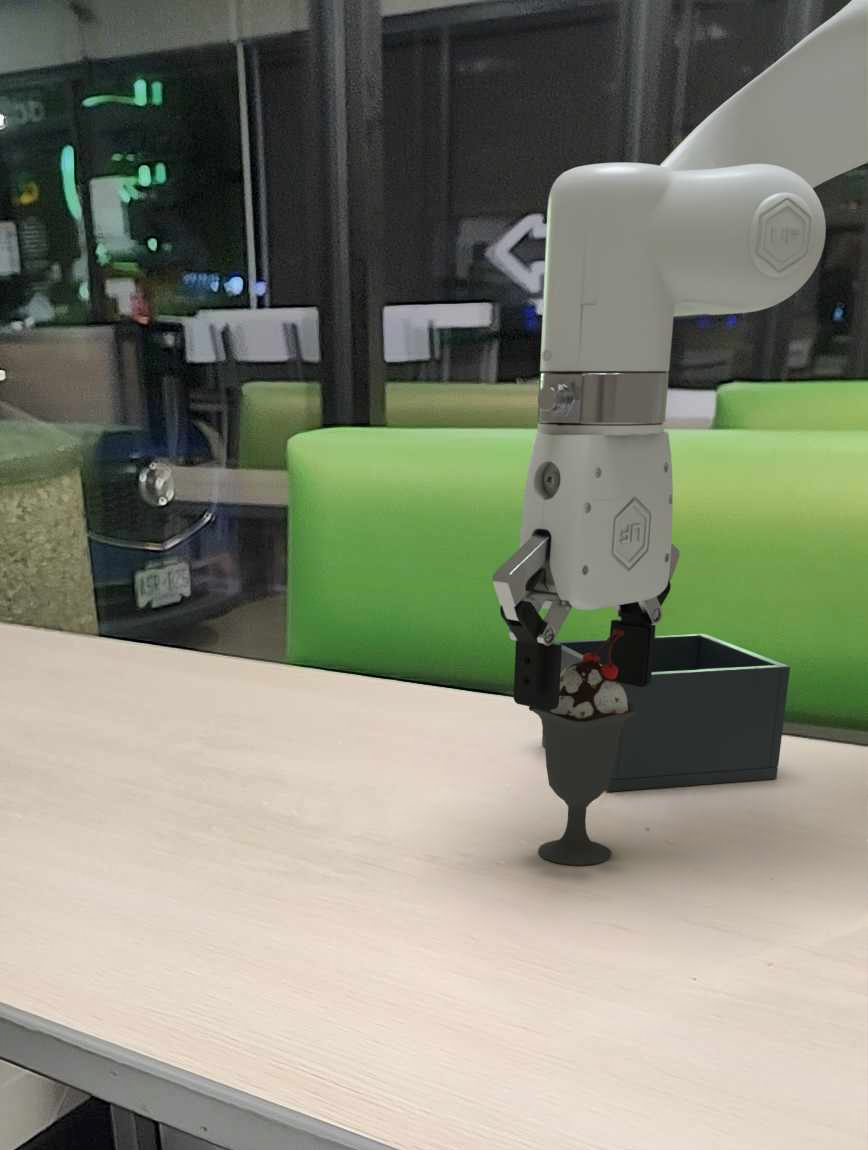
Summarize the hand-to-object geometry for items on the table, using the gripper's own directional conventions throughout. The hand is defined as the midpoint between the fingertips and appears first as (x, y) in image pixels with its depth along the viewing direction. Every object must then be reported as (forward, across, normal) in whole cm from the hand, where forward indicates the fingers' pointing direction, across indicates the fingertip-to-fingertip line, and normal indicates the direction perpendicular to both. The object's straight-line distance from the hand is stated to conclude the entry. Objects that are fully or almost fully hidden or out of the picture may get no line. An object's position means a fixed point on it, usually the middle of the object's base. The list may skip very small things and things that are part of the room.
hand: (583, 694), depth 86 cm
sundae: (+11, 0, 0) cm, 11 cm away
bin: (+11, +23, +10) cm, 27 cm away
